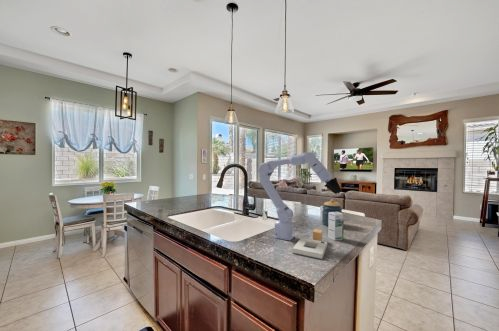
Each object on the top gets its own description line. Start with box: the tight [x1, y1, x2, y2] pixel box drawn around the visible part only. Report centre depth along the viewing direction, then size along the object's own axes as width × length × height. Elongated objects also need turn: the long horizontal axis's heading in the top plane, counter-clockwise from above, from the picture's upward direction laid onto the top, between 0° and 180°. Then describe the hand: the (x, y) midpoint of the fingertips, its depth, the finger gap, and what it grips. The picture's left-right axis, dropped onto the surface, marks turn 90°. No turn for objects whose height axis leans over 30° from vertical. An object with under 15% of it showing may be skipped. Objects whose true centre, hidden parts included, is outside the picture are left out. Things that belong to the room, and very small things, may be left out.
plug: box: [312, 228, 323, 241], centre depth 113 cm, size 4×6×6 cm
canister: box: [321, 198, 343, 227], centre depth 145 cm, size 13×13×18 cm
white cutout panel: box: [292, 237, 328, 260], centre depth 102 cm, size 13×16×3 cm
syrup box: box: [327, 212, 345, 242], centre depth 118 cm, size 6×6×14 cm
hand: (338, 192), depth 107 cm, fingers open, 7 cm apart
